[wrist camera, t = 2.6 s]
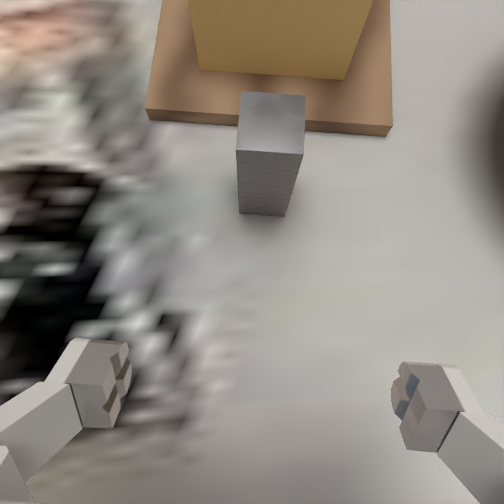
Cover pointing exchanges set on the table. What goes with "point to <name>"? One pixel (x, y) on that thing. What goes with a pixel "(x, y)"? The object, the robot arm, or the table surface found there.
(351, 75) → the base board
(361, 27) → the square hole block
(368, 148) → the table surface
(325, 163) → the table surface
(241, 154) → the square peg
